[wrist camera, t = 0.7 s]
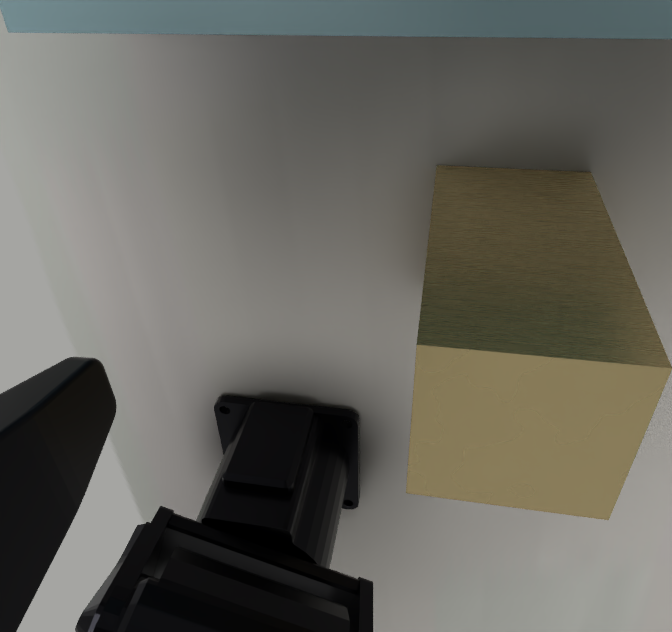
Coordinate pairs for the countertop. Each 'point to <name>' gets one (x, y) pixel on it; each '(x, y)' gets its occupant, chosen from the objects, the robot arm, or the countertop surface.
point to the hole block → (348, 17)
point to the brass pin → (529, 346)
